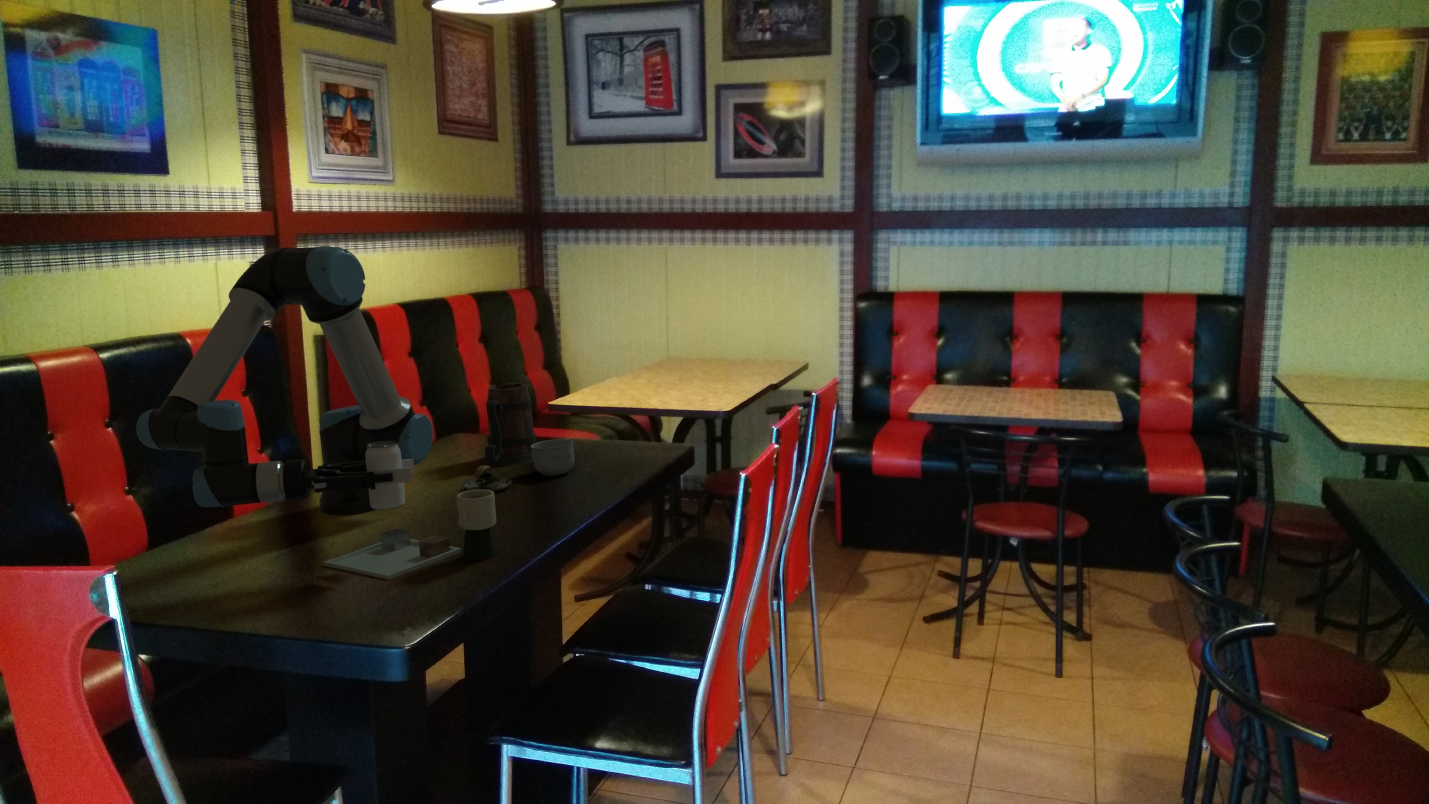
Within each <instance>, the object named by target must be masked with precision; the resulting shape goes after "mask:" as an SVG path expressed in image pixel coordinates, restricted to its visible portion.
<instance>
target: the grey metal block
mask: <svg viewBox="0 0 1429 804" xmlns="http://www.w3.org/2000/svg"><path fill="white" fill-rule="evenodd" d="M379 535H380V536H379V537H380V542H381V547H382V548H383V549H388V550H393V551H397V550H399V549H402V548H405V547H408V546H411V540H410V539H411V533H410V530H407V529H402V528H392V529H390V530H387V531H384V532H381V533H380V534H379Z"/></svg>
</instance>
